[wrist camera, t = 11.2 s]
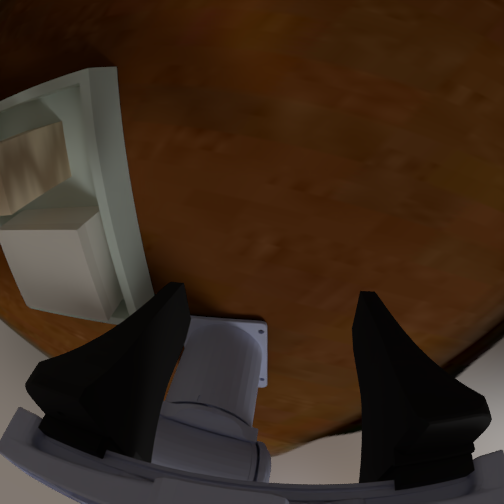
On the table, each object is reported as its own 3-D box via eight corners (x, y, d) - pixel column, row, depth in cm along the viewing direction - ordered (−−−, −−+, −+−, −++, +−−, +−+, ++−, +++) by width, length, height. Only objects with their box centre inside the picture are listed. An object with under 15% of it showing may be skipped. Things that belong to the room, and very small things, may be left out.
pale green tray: (156, 302, 28) (142, 328, 25) (47, 288, 30) (29, 307, 27) (116, 66, 18) (88, 68, 15) (-2, 107, 19) (-29, 115, 16)
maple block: (71, 176, 21) (11, 215, 15) (35, 181, 22) (-22, 217, 16) (61, 120, 19) (-6, 146, 13) (25, 131, 20) (-38, 158, 14)
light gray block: (127, 291, 26) (107, 321, 23) (48, 281, 28) (26, 305, 24) (105, 205, 22) (77, 229, 19) (23, 210, 23) (-5, 230, 20)
